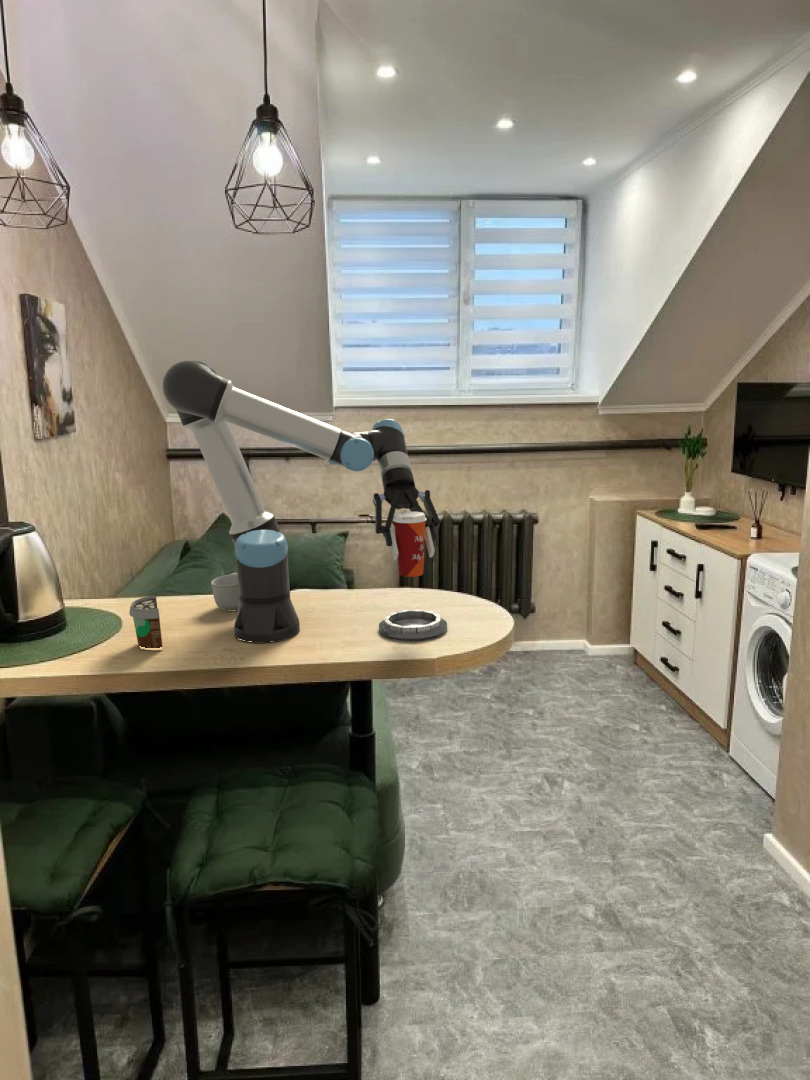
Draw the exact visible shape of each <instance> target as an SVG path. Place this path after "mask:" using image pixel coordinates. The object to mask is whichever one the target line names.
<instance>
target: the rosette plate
mask: <svg viewBox="0 0 810 1080" xmlns="http://www.w3.org/2000/svg"><path fill="white" fill-rule="evenodd" d="M447 631H448V622H447V620H445V619H444V618H443V617H442V615H440V614H438V613H436V612H435V611H430V610H425V609H405V610H399V611H394V612H392V613H389V614H388V615H387V614H386V615H385V618H384V619H383V620H381V621H380V622H379V623H378V633H379V634H380V635H381V636H382V637H384V638H387V639H390V640H393V641H400V642H421V641H423V642H424V641H429V640H433V639H436V638H440V637H442V636H443V635H445V634H446V633H447ZM445 632H446V633H445ZM444 633H445V634H444ZM441 635H442V636H441Z"/></svg>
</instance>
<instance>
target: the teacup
mask: <svg viewBox="0 0 810 1080" xmlns="http://www.w3.org/2000/svg"><path fill="white" fill-rule="evenodd" d="M210 584H211V587H212V594H213V599H214V602H215V604H216V605H217V606H218V608H220V609H222V610H223V609H225V610H224V611H226V610H237V609H238V608H239V604H240V598H239V586H238V573H237V572H232V573H231V574H225V575H222V576H218V577H216V578H214V579H212V580H211V582H210ZM237 611H238V610H237Z"/></svg>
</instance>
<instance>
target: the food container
mask: <svg viewBox="0 0 810 1080" xmlns="http://www.w3.org/2000/svg"><path fill="white" fill-rule="evenodd" d="M128 614H129V616H130V617H132V618H133V619H132V620H133V623H134V625H133V626H134V629H135V634H136V639H137V645H139V646H141V647H145V648H160V647H163V640H162V631H161V630H162V629H161V621H160V620H161V619H160V609H159V608H158V601H157V595H156V594H153V595H148V596H143V597H140V598H138V599H135V600H134V601H132V602H131V603H130V606H129V613H128ZM139 646H138V647H139Z"/></svg>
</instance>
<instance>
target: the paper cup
mask: <svg viewBox="0 0 810 1080" xmlns="http://www.w3.org/2000/svg"><path fill="white" fill-rule="evenodd" d="M425 514H426V513H425ZM425 514H424V513H422V512H411V511H400V512H395V514H394V517H393V521H392V522H394V534H395V539H396V544H397V549H398V558H397V566H398V574H399V576H400V577H407V578H413V577H420V576H423V575H424V569H425V568H424V567H425V566H424V565H425V544H426V540H425V521H426V520H427V519H426V518H425Z"/></svg>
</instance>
